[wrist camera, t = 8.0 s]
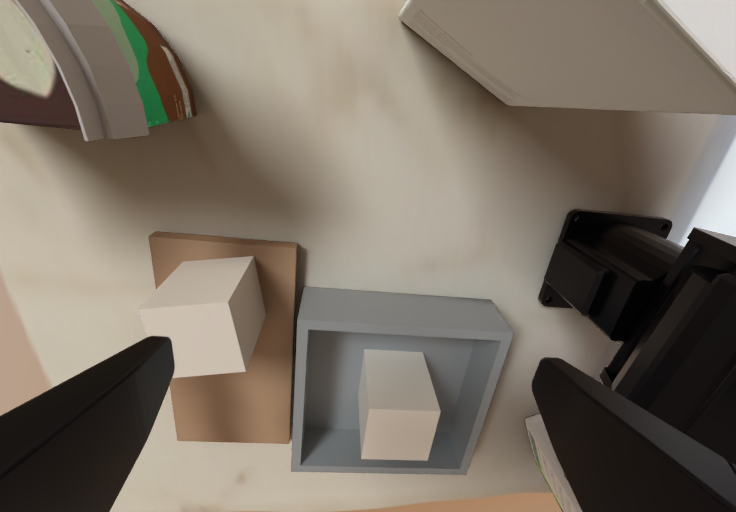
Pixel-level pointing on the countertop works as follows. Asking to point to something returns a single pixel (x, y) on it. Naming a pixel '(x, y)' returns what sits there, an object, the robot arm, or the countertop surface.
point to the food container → (88, 69)
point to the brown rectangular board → (269, 358)
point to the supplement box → (590, 51)
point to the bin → (394, 333)
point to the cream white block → (208, 315)
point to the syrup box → (550, 465)
